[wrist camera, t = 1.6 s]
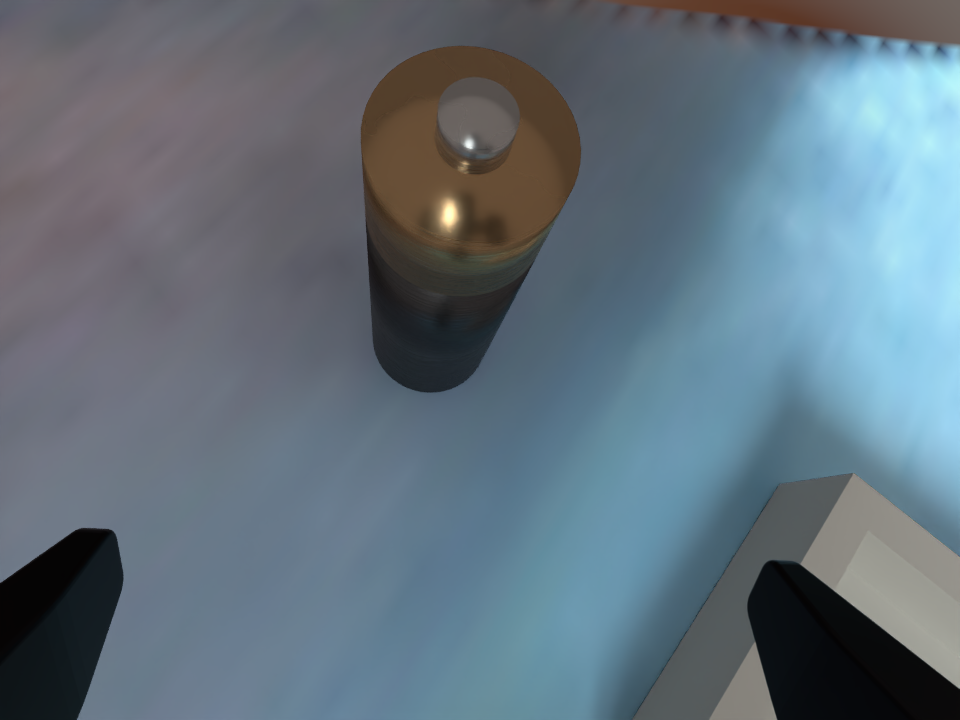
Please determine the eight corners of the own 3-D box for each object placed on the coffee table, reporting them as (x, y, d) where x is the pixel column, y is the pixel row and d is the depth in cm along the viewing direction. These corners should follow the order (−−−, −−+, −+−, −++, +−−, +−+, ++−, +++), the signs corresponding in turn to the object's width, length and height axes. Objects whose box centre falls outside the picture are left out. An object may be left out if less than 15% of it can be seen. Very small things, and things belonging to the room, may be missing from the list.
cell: (437, 415, 23) (498, 268, 11) (349, 342, 23) (307, 115, 11) (507, 332, 24) (637, 110, 12) (422, 263, 24) (461, -26, 12)
